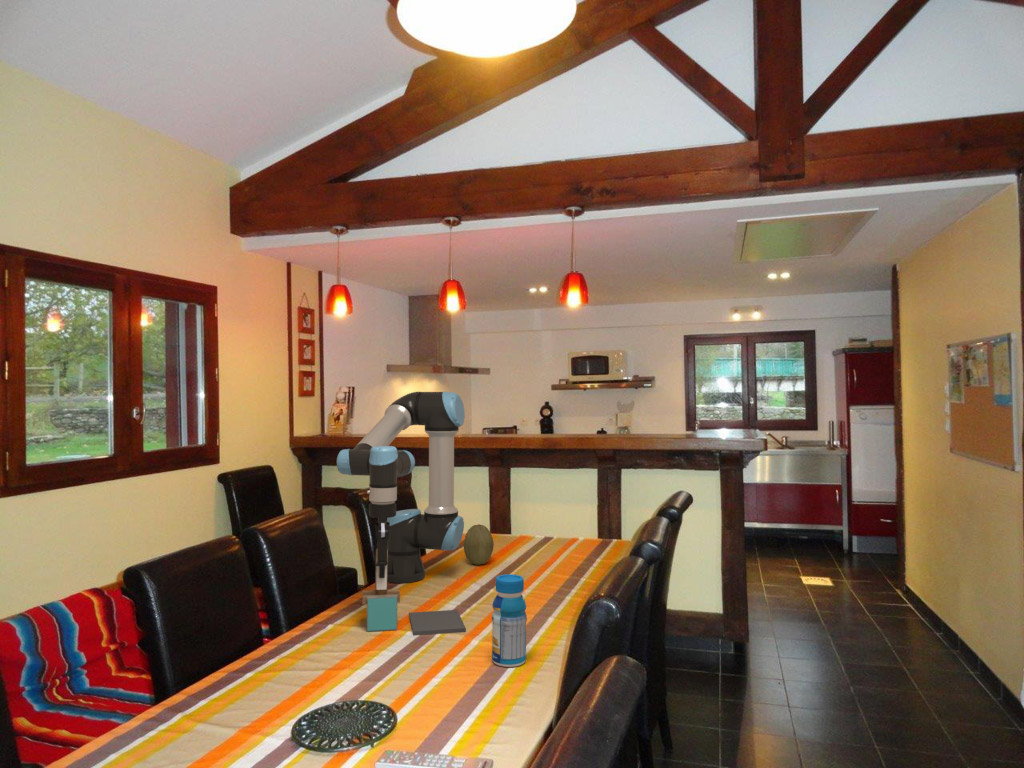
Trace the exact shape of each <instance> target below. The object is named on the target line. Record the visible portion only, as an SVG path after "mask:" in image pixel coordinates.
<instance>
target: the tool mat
mask: <svg viewBox="0 0 1024 768" xmlns="http://www.w3.org/2000/svg"><path fill="white" fill-rule="evenodd" d="M408 618H409V622H410V626H411V632H412V636H423V635H425V636H426V635H427V636H428V635H438V634H453V633H456V634H457V633H466V632H467V631H466V630H467V628H466V626H465V623H464V622H463V619H462V617H461V614H460V613H459V610H458V609H450V610H432V611H431V610H429V611H415V612H413V611H412V612H408Z"/></svg>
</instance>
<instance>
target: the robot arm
mask: <svg viewBox="0 0 1024 768" xmlns="http://www.w3.org/2000/svg"><path fill="white" fill-rule="evenodd" d="M464 423H465V407H464V403H463V400H462V398H461V396H460V395H459V394H458V393H456V392H453V391H452V392H451V391H413V392H410V393H407V394H405V395H402V396H401V397H399V398H397V399H395V400H394V401H393V402H392V403H391V404H389V406H388V407H387V408H386V409H385V411H384V416H382V418H381V419H380V420H379V421H378V422H377V423H376V424H375V425H374V426H373V427H372V428H371V430H369V431H368V432H367V433H366V434H365V435H364V437H363V438H361V440H360V441H359V442H358V443H357V444H356V446H354V447H353V449H350V448H347V449H346V448H345V449H341V450H340V451H339V453H338V454H337V457H336V468H337V470H338V472H339V473H340V474H342V475H348V476H368V477H369V483H368V484H369V485H368V486H369V489H367V490H366V494H367V495H369V496H368V500H369V504H368V516H369V518H371V519H373V518H374V519H376V518H377V522H374V529H375V541H376V549H378V562H377V564H376V563H374V567H376V566H377V587H376V590H385V589H387V590H388V583H395V584H404V583H405V584H407V583H413V582H418V581H422V580H424V579H425V577H426V569H425V566H424V562H423V560H422V556H421V549H423V550H435V551H436V550H437V551H443V552H444V551H454V550H456V549H457V548H458V547H459V545H460V543H461V540H462V538H463V535H464V528H465V526H464V525H465V521H464V518H463V516H461V515H459V510H458V508H457V507H456V506H455V505H454V504H455V502H454V498H455V497H454V496H455V495H454V494H455V490H454V489H455V436H456V434H457V433H458V432H459V429H460V428H459V427H462V426H463V425H464ZM410 426H424V432H425V433H426V434H427V435H428V506H427V507H426V508H425V509H424V510H423V511H424V512H423V513H422V510H421V509H420V508H410V509H409V508H408V509H403V510H402V509H401V510H397V503H396V501H397V500H398V496H397V495H398V485H397V482H398V478H400V477H401V478H402V477H405V476H407V475H409V474H410V473H411V472H413V470H414V468H415V466H416V459H415V456H414V455H413V454H412V453H411V452H410V451H408V450H406V449H397V448H396V446H392V445H391V444H392V442H394V440H395V439H396V438H397V436H398V435H399V434H400V433H401V432H403V431H405V430H407V429H409V427H410ZM387 549H388V563H387Z"/></svg>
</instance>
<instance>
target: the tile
mask: <svg viewBox="0 0 1024 768" xmlns="http://www.w3.org/2000/svg"><path fill="white" fill-rule="evenodd" d="M397 630H398V603H397V595H380V596H367V604H366V632H367V633H371V632H372V633H373V632H375V633H376V632H391V631H397Z"/></svg>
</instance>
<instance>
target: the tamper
mask: <svg viewBox="0 0 1024 768" xmlns="http://www.w3.org/2000/svg"><path fill="white" fill-rule="evenodd" d="M377 562H378V549H377V548H376V549H375V564H377ZM387 563H388V549H387ZM374 577H375V578H374V579H375V585H374V587H375V589H374V590H371V589H370V590H362V600H361V601H362V602H361V603H362V605H367V596H380V595H397V604H398V603H399V604H400V603H401V593H400V589H397V588H393V589H388V588H387V589H385V590H376V587H377V566H375V576H374Z"/></svg>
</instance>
